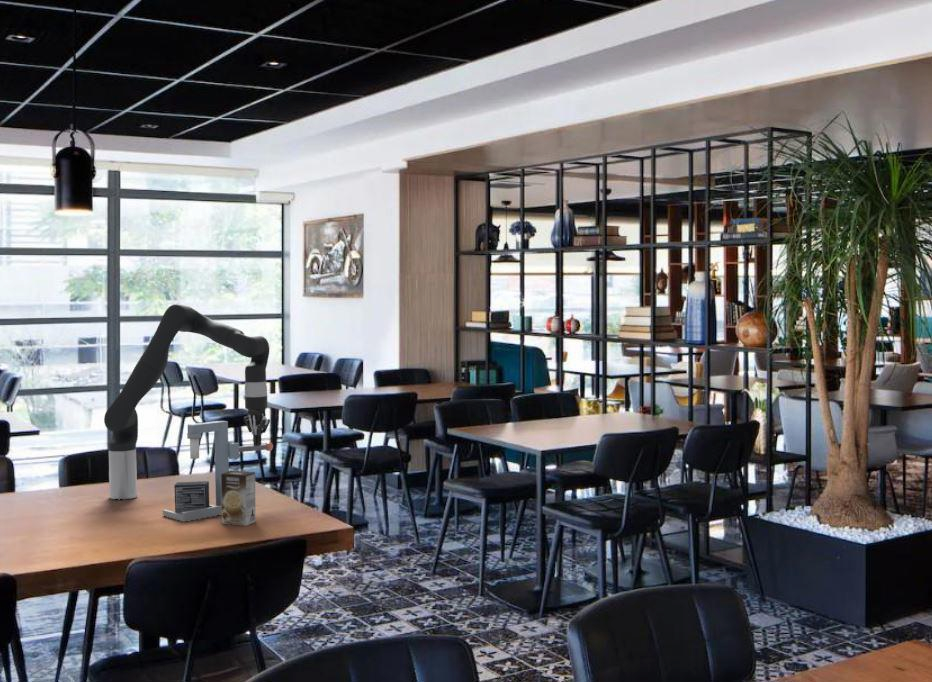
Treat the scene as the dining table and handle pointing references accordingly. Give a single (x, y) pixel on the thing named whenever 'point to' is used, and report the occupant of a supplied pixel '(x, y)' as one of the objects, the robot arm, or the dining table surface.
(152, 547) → the dining table surface
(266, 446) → the lever
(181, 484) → the small box
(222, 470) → the press
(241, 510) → the coffee box
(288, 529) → the dining table surface
